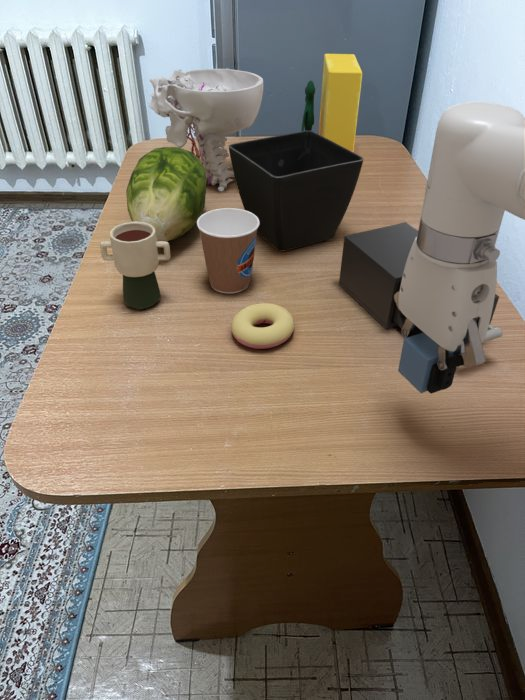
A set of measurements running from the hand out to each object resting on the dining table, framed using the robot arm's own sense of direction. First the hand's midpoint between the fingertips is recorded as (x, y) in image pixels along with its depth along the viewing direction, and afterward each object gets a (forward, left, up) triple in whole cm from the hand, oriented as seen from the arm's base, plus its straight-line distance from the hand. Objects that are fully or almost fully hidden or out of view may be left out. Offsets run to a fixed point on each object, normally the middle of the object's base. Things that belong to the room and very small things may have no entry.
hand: (424, 374), depth 68 cm
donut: (+25, -13, -10) cm, 30 cm away
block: (0, 0, 0) cm, 0 cm away
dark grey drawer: (-2, -21, -9) cm, 23 cm away
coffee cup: (+35, -25, -10) cm, 44 cm away
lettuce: (+53, -39, -10) cm, 66 cm away
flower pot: (+30, -47, -10) cm, 57 cm away
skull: (+55, -65, -10) cm, 86 cm away
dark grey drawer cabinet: (+7, -30, -10) cm, 32 cm away
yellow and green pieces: (+32, -85, -10) cm, 91 cm away
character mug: (+47, -15, -10) cm, 50 cm away
